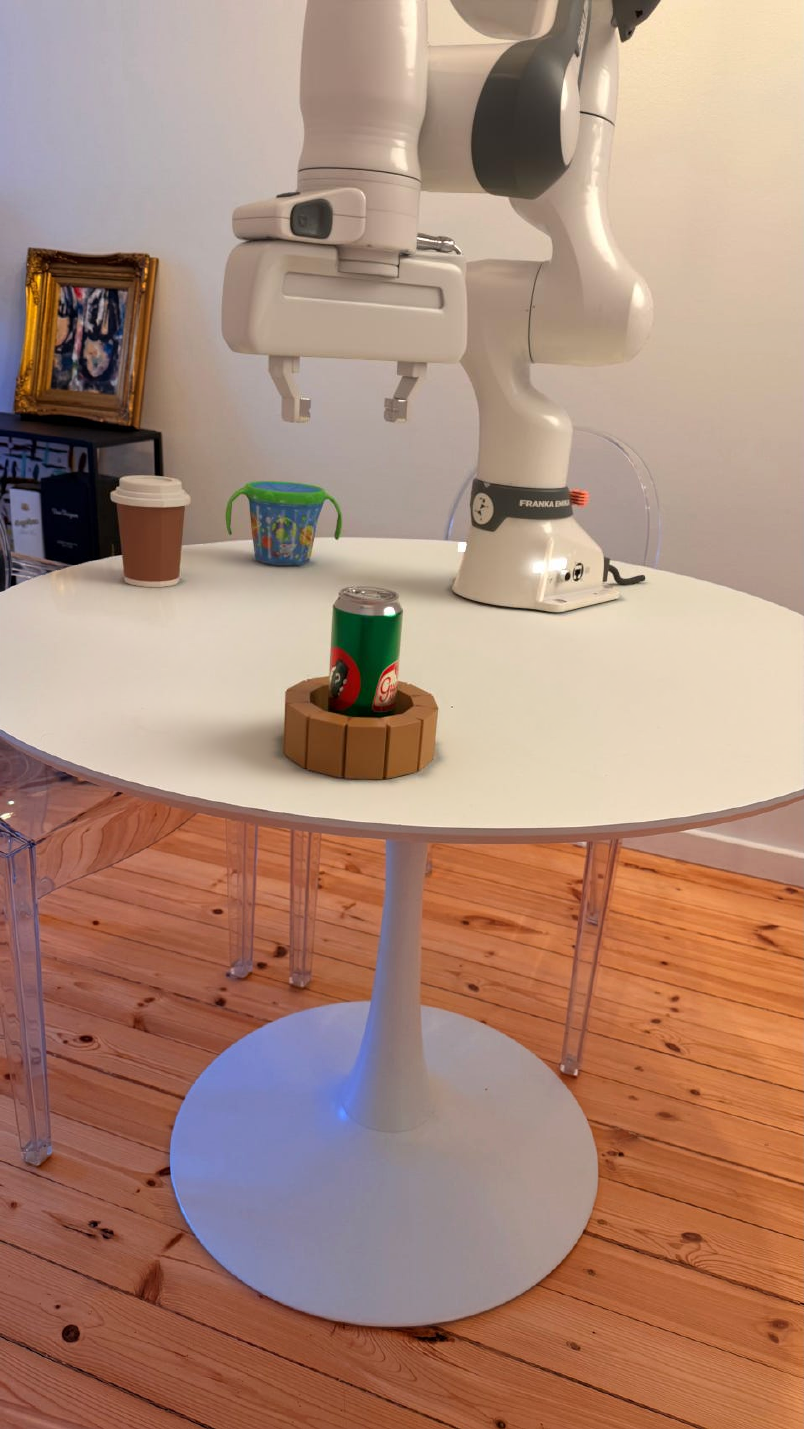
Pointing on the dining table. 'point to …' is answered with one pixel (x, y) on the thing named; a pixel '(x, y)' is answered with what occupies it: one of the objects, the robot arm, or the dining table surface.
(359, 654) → the soda can
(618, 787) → the dining table surface
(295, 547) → the snack cup
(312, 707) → the brown segmented block ring
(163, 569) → the coffee cup
